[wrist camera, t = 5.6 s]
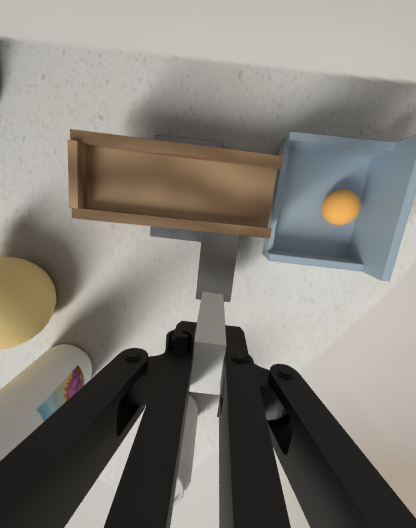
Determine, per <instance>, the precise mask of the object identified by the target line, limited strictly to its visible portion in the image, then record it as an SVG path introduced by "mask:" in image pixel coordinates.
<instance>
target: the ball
mask: <svg viewBox="0 0 416 528" xmlns="http://www.w3.org/2000/svg"><path fill="white" fill-rule="evenodd" d="M360 210H361V201H360V199H359V197H358V196H357V195H356V194H355V193H354V192H352V191H350V190H337V191H334V192H332V193H331V194H329V195H328V196H327V197H326V198H325V200H324V201H323V204H322V215H323V217H324V218H325V219H326V220H327V221H328V222H329V223H331V224H334V225H345V224H348V223H350V222H352V221H353V220H354V219H355V218H356V217H357V216H358V214H359V212H360Z"/></svg>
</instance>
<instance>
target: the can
mask: <svg viewBox="0 0 416 528" xmlns="http://www.w3.org/2000/svg"><path fill="white" fill-rule="evenodd" d="M197 417H198V407H197V404H196V402H195V400H194V399H193V398H192V397H191V396H190V395H189V399H188V406H187V413H186V420H185V427H184V434H183V441H182V448H181V454H180V461H179V468H178V475H177V482H176V489H175V496H174V503H173V506H175V505H176V504H177V503H178V502H179V501H180V500H181V498H182V497H183V494H184V491H185V490H186V489H187V488H188V486H189V484H190V482H191V474H192V464H193V455H194V445H195V436H196V427H197Z"/></svg>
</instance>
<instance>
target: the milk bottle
mask: <svg viewBox="0 0 416 528" xmlns="http://www.w3.org/2000/svg"><path fill="white" fill-rule="evenodd" d="M91 375H92V363H91V360H90V358H89V357H88V355H87V354H86V353H85V352H84V351H83V350H82V349H80V348H78V347H76V346H73V345H69V344H62V345H57V346H54V347H52V348H50V349H49V350H48V351H46V352H45V353H44V354H43V355H41V356H40V357H39V358H38V359H37V360H35V361H34V362H33V363H32V364H31V365H29V366H28V367H27V368H26V369H25V370H23V371H22V372H21V373H20V374H19V375H17V376H16V377H15V378H14V379H13V380H12V381H10V382H9V383H8V384H7V385H6V386H4V387H3V388H2V389H1V390H0V461H1V460H2V459H3V458H4V457H5V456H6V455H7V454H9V453H10V452H11V451H12V450H13V449H14V448H15V447H16V446H17V445H19V444H20V443H21V442H22V441H23V440H24V439H25V438H26V437H27V436H29V435H30V434H31V433H32V432H33V431H34V430H35V429H36V428H37V427H39V426H40V425H41V424H42V423H43V422H44V421H45V420H46V419H47V418H48V417H50V416H51V415H52V414H53V413H54V412H55V411H56V410H57V409H58V408H60V407H61V406H62V405H63V404H64V403H65V402H66V401H67V400H68V399H70V398H71V397H72V396H73V395H74V394H75V393H76V392H77V391H78V390H80V389H81V388H82V387H83V386H84V385H85V384H86V383H87V382H88V381H89V380H90V378H91Z"/></svg>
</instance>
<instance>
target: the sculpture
mask: <svg viewBox="0 0 416 528" xmlns="http://www.w3.org/2000/svg"><path fill="white" fill-rule="evenodd" d="M55 305H56V291H55V287H54V284H53V282H52V280H51V278H50V277H49V276H48V274H47V273H46V272H45V271H44V270H43V269H41V268H40V267H39V266H37V265H36V264H34V263H32V262H29V261H27V260H24V259H20V258H15V257H6V256H0V350H2V349H7V348H11V347H14V346H17V345H20V344H22V343H24V342H26V341H28V340H30V339H32V338H33V337H34V336H36V335H37V334H38V333H39V332H41V331H42V330H43V328H44V327H45V326H46V325H47V323H48V322H49V320H50V319H51V317H52V315H53V312H54V309H55Z"/></svg>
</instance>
